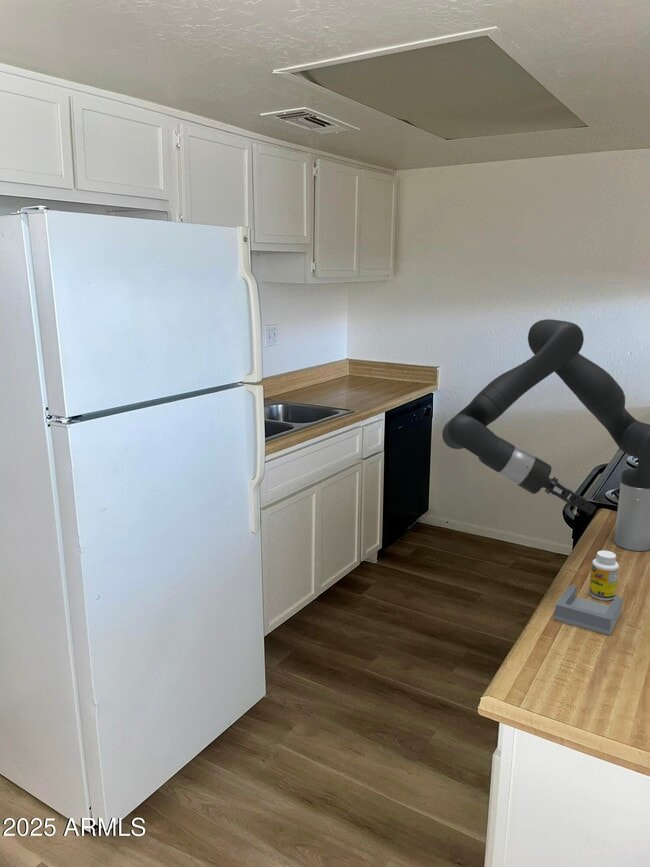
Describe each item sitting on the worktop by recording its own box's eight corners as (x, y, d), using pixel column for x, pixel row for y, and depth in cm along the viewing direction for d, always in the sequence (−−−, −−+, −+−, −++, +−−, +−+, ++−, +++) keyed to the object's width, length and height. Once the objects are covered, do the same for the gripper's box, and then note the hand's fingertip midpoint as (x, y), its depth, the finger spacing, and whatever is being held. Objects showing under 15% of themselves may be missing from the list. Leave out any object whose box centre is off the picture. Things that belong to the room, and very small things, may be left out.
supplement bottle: (583, 591, 151) (587, 550, 149) (603, 588, 153) (608, 547, 150) (600, 603, 146) (604, 560, 144) (620, 599, 148) (625, 557, 145)
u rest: (568, 598, 148) (569, 584, 147) (620, 613, 142) (622, 598, 141) (554, 619, 139) (555, 604, 138) (609, 635, 133) (611, 619, 132)
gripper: (539, 459, 140) (607, 498, 139) (527, 451, 154) (588, 487, 153) (520, 489, 141) (587, 528, 140) (510, 479, 155) (570, 514, 154)
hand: (588, 506), depth 146 cm, fingers open, 8 cm apart
